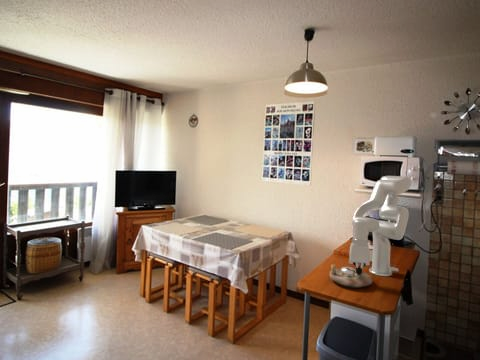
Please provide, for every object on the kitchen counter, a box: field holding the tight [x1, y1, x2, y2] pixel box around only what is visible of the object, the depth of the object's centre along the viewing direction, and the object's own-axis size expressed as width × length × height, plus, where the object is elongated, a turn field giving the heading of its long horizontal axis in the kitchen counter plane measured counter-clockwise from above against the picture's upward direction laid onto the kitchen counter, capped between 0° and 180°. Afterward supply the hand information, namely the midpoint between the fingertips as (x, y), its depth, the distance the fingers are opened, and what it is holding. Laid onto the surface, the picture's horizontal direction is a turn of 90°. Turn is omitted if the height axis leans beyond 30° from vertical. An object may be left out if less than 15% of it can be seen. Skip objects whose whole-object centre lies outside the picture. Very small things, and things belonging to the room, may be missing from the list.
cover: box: [340, 266, 356, 278], centre depth 163 cm, size 7×7×4 cm
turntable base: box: [335, 282, 365, 289], centre depth 162 cm, size 16×16×2 cm
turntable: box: [329, 264, 373, 288], centre depth 162 cm, size 22×22×6 cm
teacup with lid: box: [368, 242, 373, 263], centre depth 201 cm, size 12×9×12 cm
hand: (358, 274), depth 161 cm, fingers closed
